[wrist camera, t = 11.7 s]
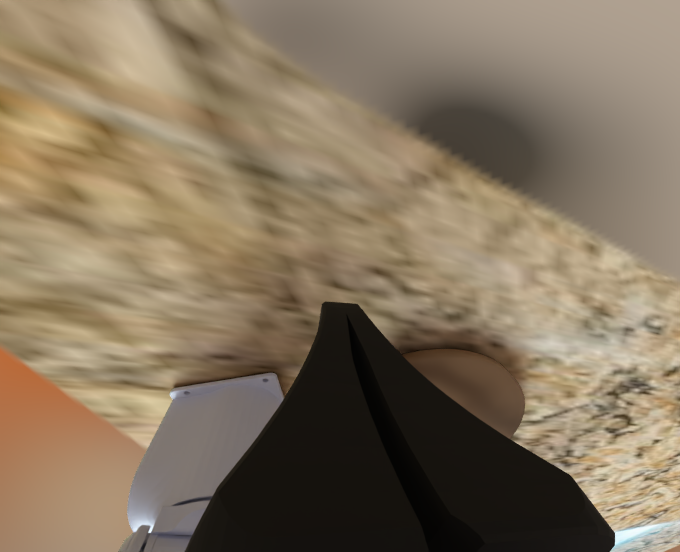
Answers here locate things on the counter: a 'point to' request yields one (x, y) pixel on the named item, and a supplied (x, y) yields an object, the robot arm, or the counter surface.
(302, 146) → the counter surface
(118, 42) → the counter surface
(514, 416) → the turntable top
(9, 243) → the counter surface
